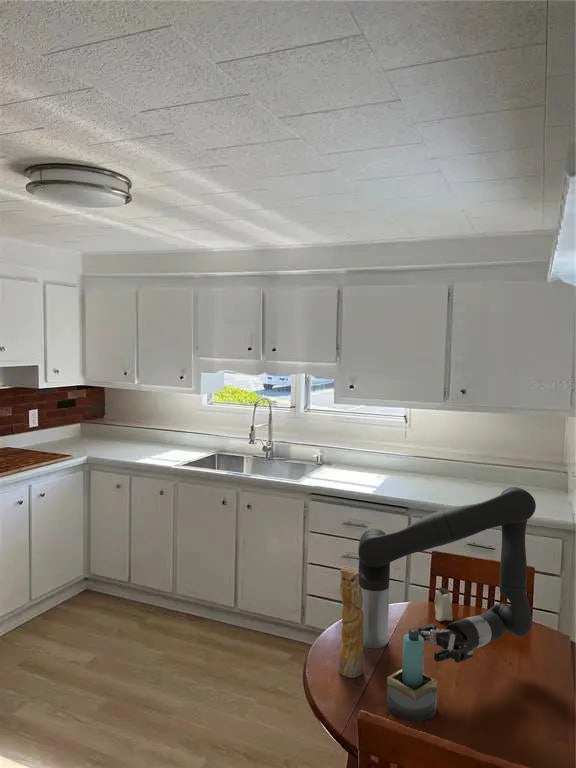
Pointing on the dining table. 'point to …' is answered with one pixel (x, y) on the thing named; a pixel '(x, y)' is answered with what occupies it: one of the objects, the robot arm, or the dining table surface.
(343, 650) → the sculpture
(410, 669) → the bottle
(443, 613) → the grey sack
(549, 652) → the dining table surface
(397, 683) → the disc with square collar
